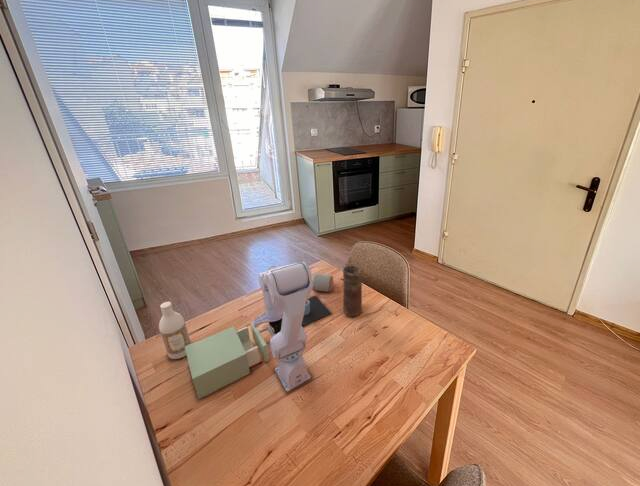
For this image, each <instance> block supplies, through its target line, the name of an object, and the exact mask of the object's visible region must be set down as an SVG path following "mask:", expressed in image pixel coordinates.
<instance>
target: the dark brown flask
mask: <svg viewBox="0 0 640 486" xmlns="http://www.w3.org/2000/svg"><path fill="white" fill-rule="evenodd" d="M342 276H343V277H342V278H343V279H342V282H343V283H342V285H343V286H342V292H343V295H342V296H343V297H342V298H343V299H342V301H343V302H342V303H343V304H342V305H343V312H344V314H345V315H346V316H347V317H349V318H352V317H353V318H354V317H357V316H358V315H360V314H361V313H362V311H363V310H362V306H363V305H362V304H363V303H362V302H363V301H362V300H363V299H362V298H363V297H362V296H363V295H362V294H363V292H362V291H363V290H362V289H363V286H362V285H363V282H362V281H363V271H362V269H361V268H360V267H358V266H357V265H347V266H345V267H343V269H342Z"/></svg>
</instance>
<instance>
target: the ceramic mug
mask: <svg viewBox="0 0 640 486" xmlns="http://www.w3.org/2000/svg"><path fill="white" fill-rule="evenodd" d="M312 280H313V287H312V291H317V292H327V293H328V292H331V291H332V289H333V284H334V276H333V275H330V274H325V273H319V272H315V273H314V275H313V277H312Z"/></svg>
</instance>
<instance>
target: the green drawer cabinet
mask: <svg viewBox="0 0 640 486" xmlns="http://www.w3.org/2000/svg"><path fill="white" fill-rule="evenodd" d="M236 331H237V329H236V328H235V326H231V327H229V328H226V329H224V330H221V331H219V332H216V333H214V334H212V335H208V336H207V337H204V338H202V339H200V340H197V341H194V342H191V344H189V345H187V346H185V351H186V360H187V362H188V367H189V371H190V375H191V379H192V382H193V385H194V389H195V392H196V396H197V398H198V400H200V399H203V398H204V397H206V396H209V395H210V394H212V393H214V392H216V391H218V390H220V389H222V388H224V387H226V386H227V385H228V386H229V385H230V384H232V383H234V382H236V381H238V380H240V379H242V378H244V377H246V376H248V375H250V374H251V372H250V371H251V370H250V367H249V365H248V360H247V354H246V352H245V350H244V347H243V345H242V343H241V341H240V339H239V337H238V335H237V332H236Z"/></svg>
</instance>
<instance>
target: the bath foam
mask: <svg viewBox="0 0 640 486" xmlns="http://www.w3.org/2000/svg"><path fill="white" fill-rule="evenodd" d="M159 307H160V310H161V313H162V316H161V318H160V320H159V323H158V330H159V333H160V336H161V339H162V342H163V344H164V347H165V350H166V353H167V356H168V358H170V359H171V360H179V359H182V358H184V357H187V355H186V351H185V346H187V345H189V344H192V342H191V338H190V334H189V331H188V328H187V324H186V321H185V318H184V317H183V316H182V314H180V313H179V312H177V311H174V307H173V304H172V302H171V301H164V302H163V303H161V304H160V306H159Z"/></svg>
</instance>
